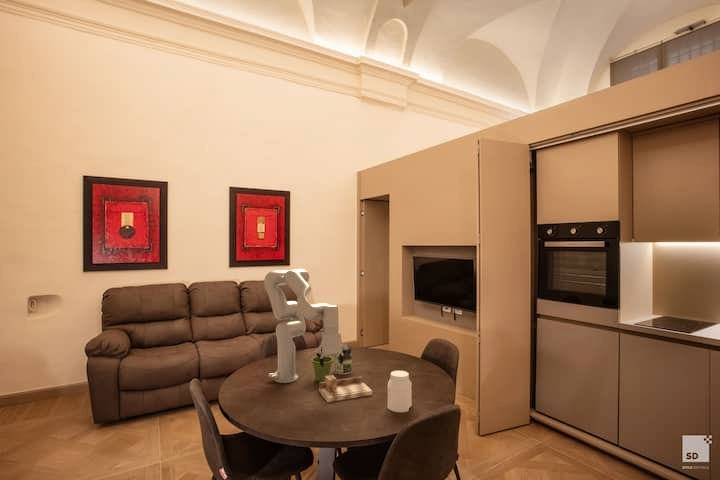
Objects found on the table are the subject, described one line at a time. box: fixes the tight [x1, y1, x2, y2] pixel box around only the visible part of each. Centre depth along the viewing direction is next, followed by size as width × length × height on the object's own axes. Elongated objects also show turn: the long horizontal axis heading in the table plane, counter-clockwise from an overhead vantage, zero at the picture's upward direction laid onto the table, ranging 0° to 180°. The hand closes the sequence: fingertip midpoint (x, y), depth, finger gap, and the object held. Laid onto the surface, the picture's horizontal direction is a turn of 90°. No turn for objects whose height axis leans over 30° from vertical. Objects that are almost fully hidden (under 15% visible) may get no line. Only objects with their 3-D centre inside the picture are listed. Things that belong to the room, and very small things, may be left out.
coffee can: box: [334, 344, 353, 375], centre depth 214 cm, size 10×10×14 cm
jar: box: [387, 370, 413, 413], centre depth 167 cm, size 12×10×15 cm
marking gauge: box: [325, 374, 338, 394], centre depth 180 cm, size 4×11×6 cm, turn 22°
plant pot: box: [311, 355, 334, 382], centre depth 201 cm, size 12×12×11 cm
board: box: [318, 375, 373, 403], centre depth 183 cm, size 23×14×4 cm, turn 112°
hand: (331, 364), depth 182 cm, fingers open, 9 cm apart
